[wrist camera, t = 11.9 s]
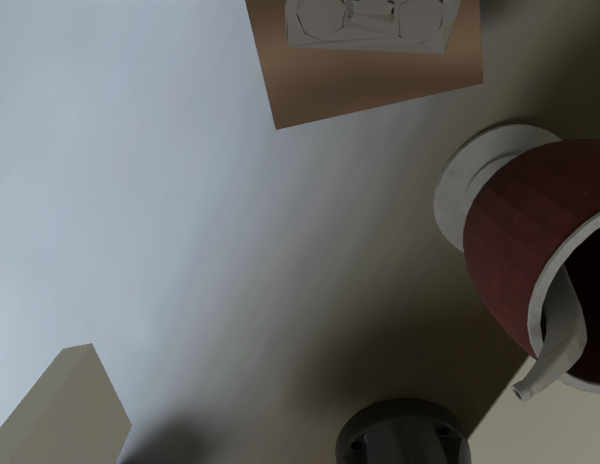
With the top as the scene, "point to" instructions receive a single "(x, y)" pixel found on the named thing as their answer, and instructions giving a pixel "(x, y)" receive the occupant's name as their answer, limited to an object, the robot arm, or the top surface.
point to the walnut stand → (357, 68)
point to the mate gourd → (531, 244)
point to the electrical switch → (371, 24)
